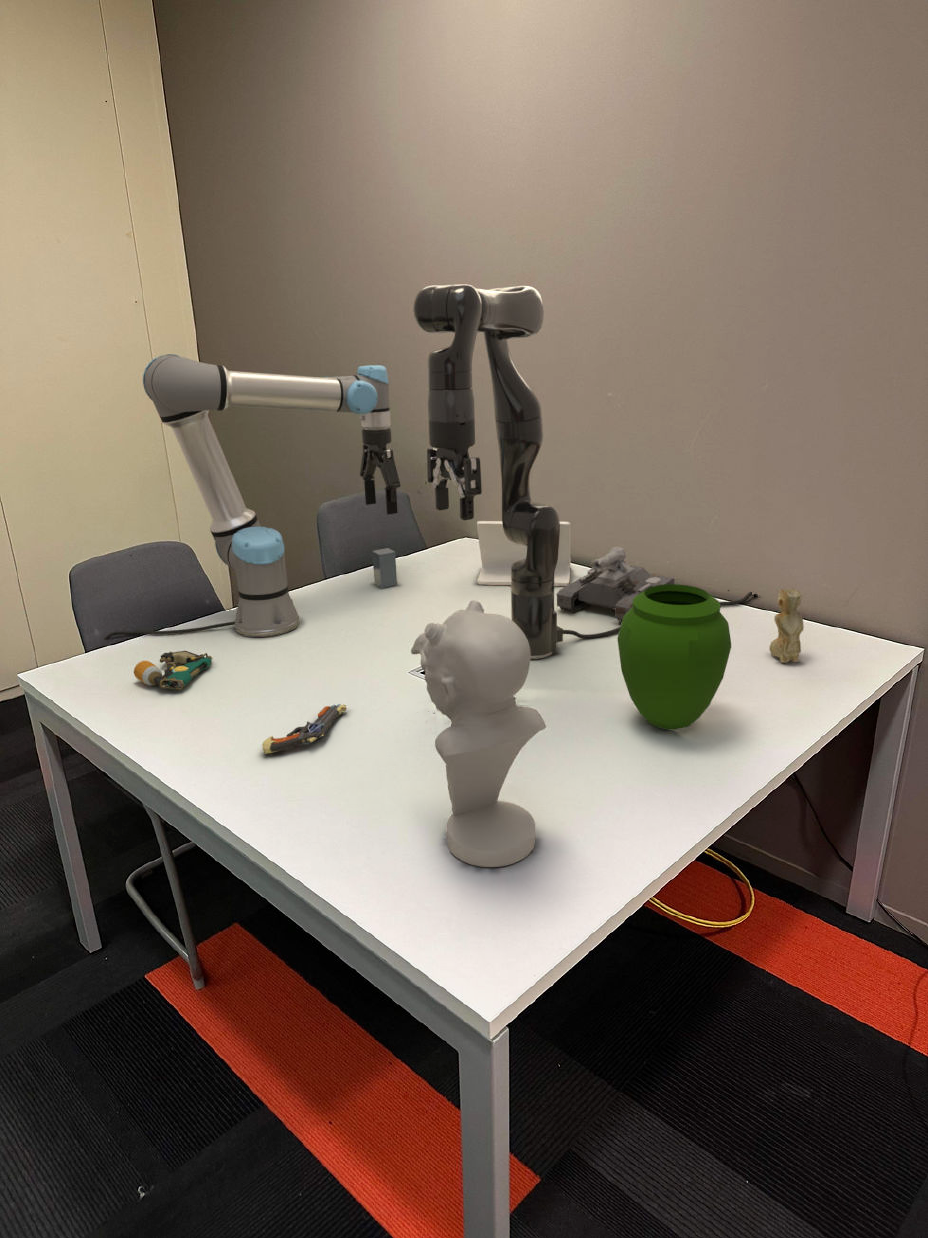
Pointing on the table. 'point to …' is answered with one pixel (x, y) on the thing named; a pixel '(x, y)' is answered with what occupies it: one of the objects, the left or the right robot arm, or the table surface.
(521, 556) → the tablet stand
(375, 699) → the table surface
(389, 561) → the block
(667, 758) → the table surface
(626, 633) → the vase
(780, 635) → the sculpture
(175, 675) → the spray gun
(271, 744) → the toy gun
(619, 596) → the toy
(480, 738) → the bust sculpture
